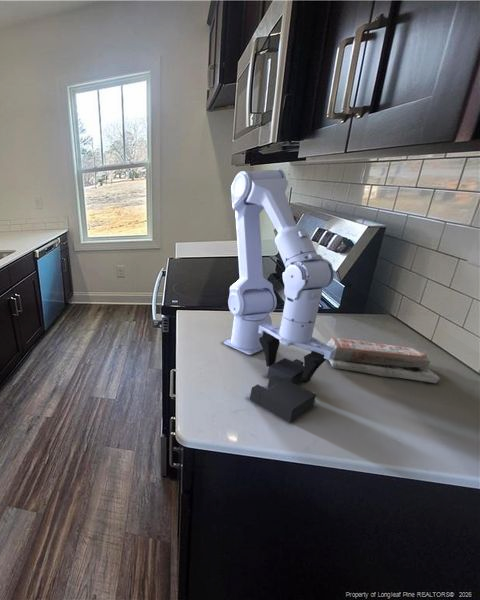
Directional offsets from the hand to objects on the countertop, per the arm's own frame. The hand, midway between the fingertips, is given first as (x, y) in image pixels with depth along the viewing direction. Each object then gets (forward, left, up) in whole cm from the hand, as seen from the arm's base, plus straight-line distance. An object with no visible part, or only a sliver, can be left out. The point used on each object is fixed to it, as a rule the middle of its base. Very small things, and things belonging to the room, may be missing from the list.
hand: (287, 372), depth 70 cm
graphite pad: (0, 0, -1) cm, 1 cm away
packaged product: (-21, +8, -2) cm, 23 cm away
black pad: (+9, +4, -1) cm, 10 cm away
